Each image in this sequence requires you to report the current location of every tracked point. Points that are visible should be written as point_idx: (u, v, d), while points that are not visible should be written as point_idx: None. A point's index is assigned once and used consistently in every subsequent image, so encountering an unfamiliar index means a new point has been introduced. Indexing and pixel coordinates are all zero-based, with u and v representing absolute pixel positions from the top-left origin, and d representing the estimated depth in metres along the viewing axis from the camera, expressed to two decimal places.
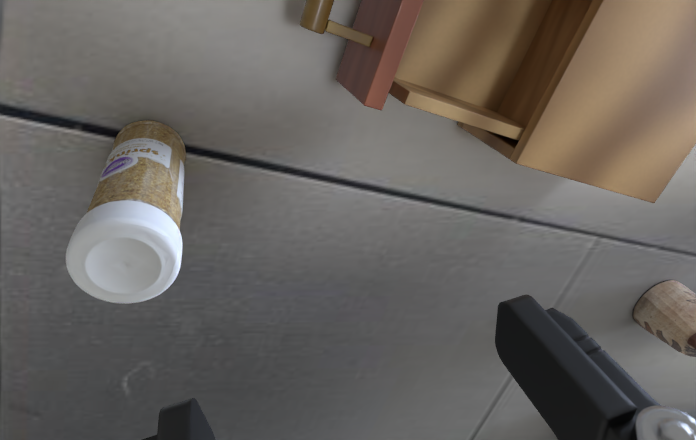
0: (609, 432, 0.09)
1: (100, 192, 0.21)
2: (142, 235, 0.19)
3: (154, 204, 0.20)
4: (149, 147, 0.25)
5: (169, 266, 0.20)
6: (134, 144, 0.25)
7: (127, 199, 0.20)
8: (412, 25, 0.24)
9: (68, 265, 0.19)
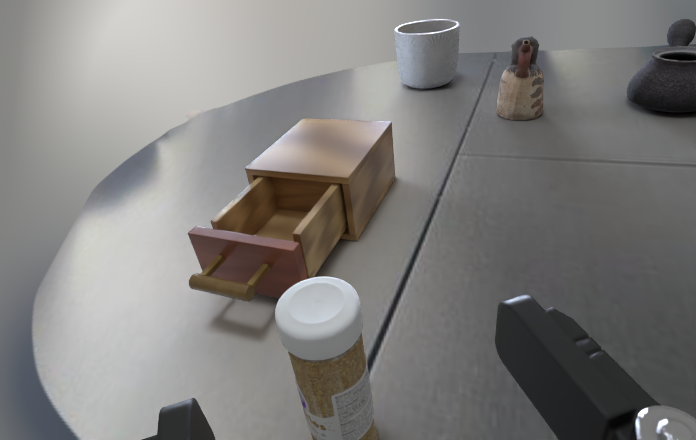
0: (609, 432, 0.09)
1: (294, 370, 0.25)
2: (293, 290, 0.24)
3: None
4: None
5: (326, 279, 0.25)
6: None
7: None
8: (252, 235, 0.40)
9: (305, 335, 0.22)
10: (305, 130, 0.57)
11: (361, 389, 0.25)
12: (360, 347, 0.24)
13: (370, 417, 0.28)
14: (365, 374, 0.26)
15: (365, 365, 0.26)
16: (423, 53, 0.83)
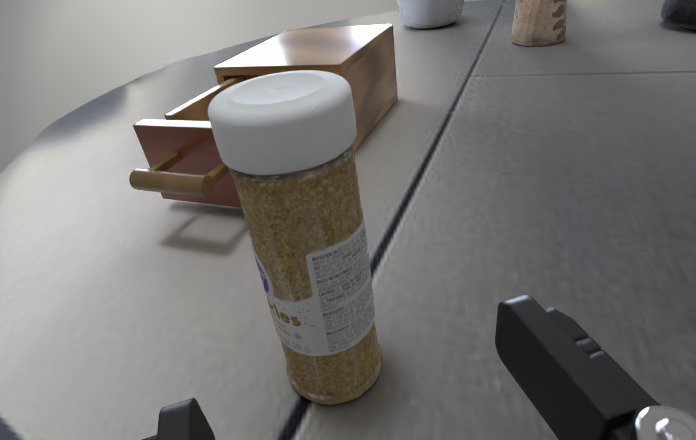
0: (609, 432, 0.09)
1: (246, 219, 0.15)
2: (242, 83, 0.15)
3: None
4: None
5: (297, 71, 0.15)
6: None
7: None
8: None
9: (252, 117, 0.12)
10: (290, 37, 0.48)
11: (355, 254, 0.16)
12: (352, 176, 0.15)
13: (370, 314, 0.18)
14: (361, 232, 0.16)
15: (361, 218, 0.16)
16: None
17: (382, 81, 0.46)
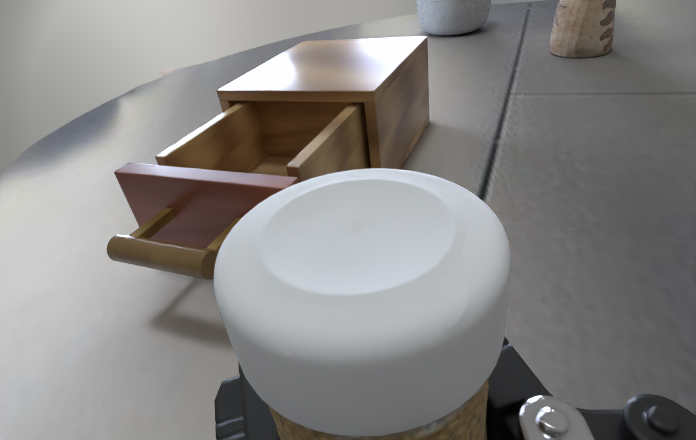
0: (501, 421, 0.09)
1: None
2: (277, 202, 0.08)
3: None
4: None
5: (379, 173, 0.08)
6: None
7: None
8: (218, 171, 0.24)
9: (321, 342, 0.05)
10: (305, 51, 0.41)
11: None
12: None
13: None
14: None
15: (485, 424, 0.09)
16: None
17: (415, 104, 0.39)
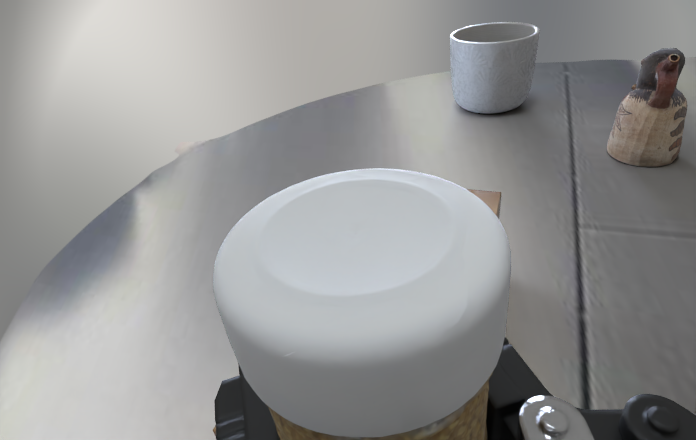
0: (501, 421, 0.09)
1: None
2: (277, 202, 0.08)
3: None
4: None
5: (379, 173, 0.08)
6: None
7: None
8: None
9: (320, 343, 0.05)
10: None
11: None
12: None
13: None
14: None
15: (485, 425, 0.09)
16: (493, 68, 0.62)
17: None
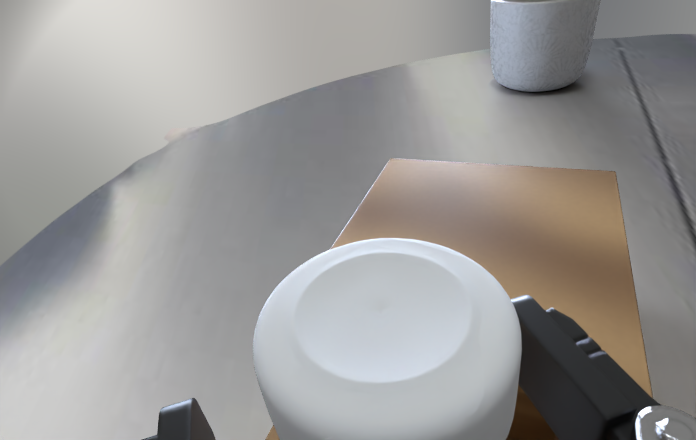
0: (609, 432, 0.09)
1: None
2: (307, 275, 0.09)
3: None
4: None
5: (398, 245, 0.09)
6: None
7: None
8: None
9: (356, 430, 0.06)
10: (409, 191, 0.25)
11: None
12: None
13: None
14: None
15: None
16: (546, 34, 0.51)
17: None
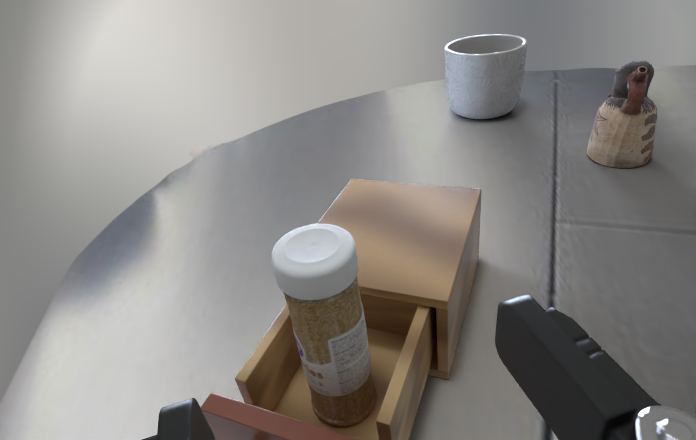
0: (609, 432, 0.09)
1: (291, 316, 0.25)
2: (289, 236, 0.24)
3: None
4: None
5: (322, 226, 0.25)
6: None
7: None
8: (309, 425, 0.24)
9: (300, 273, 0.22)
10: (358, 200, 0.41)
11: (357, 336, 0.26)
12: (356, 292, 0.24)
13: (367, 368, 0.28)
14: (361, 321, 0.26)
15: (361, 312, 0.26)
16: (484, 77, 0.67)
17: (471, 261, 0.39)
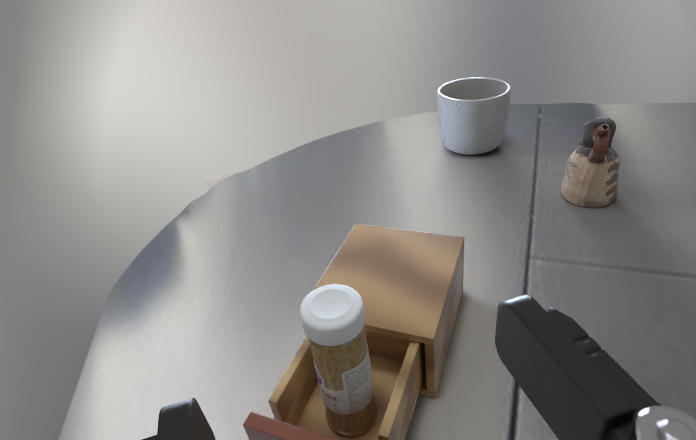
0: (609, 432, 0.09)
1: (313, 354, 0.33)
2: (312, 294, 0.32)
3: None
4: None
5: (337, 286, 0.33)
6: None
7: None
8: (327, 437, 0.32)
9: (323, 327, 0.30)
10: (362, 245, 0.49)
11: (364, 369, 0.34)
12: (363, 337, 0.33)
13: (371, 392, 0.36)
14: (367, 358, 0.34)
15: (367, 351, 0.34)
16: (472, 120, 0.75)
17: (455, 298, 0.47)
